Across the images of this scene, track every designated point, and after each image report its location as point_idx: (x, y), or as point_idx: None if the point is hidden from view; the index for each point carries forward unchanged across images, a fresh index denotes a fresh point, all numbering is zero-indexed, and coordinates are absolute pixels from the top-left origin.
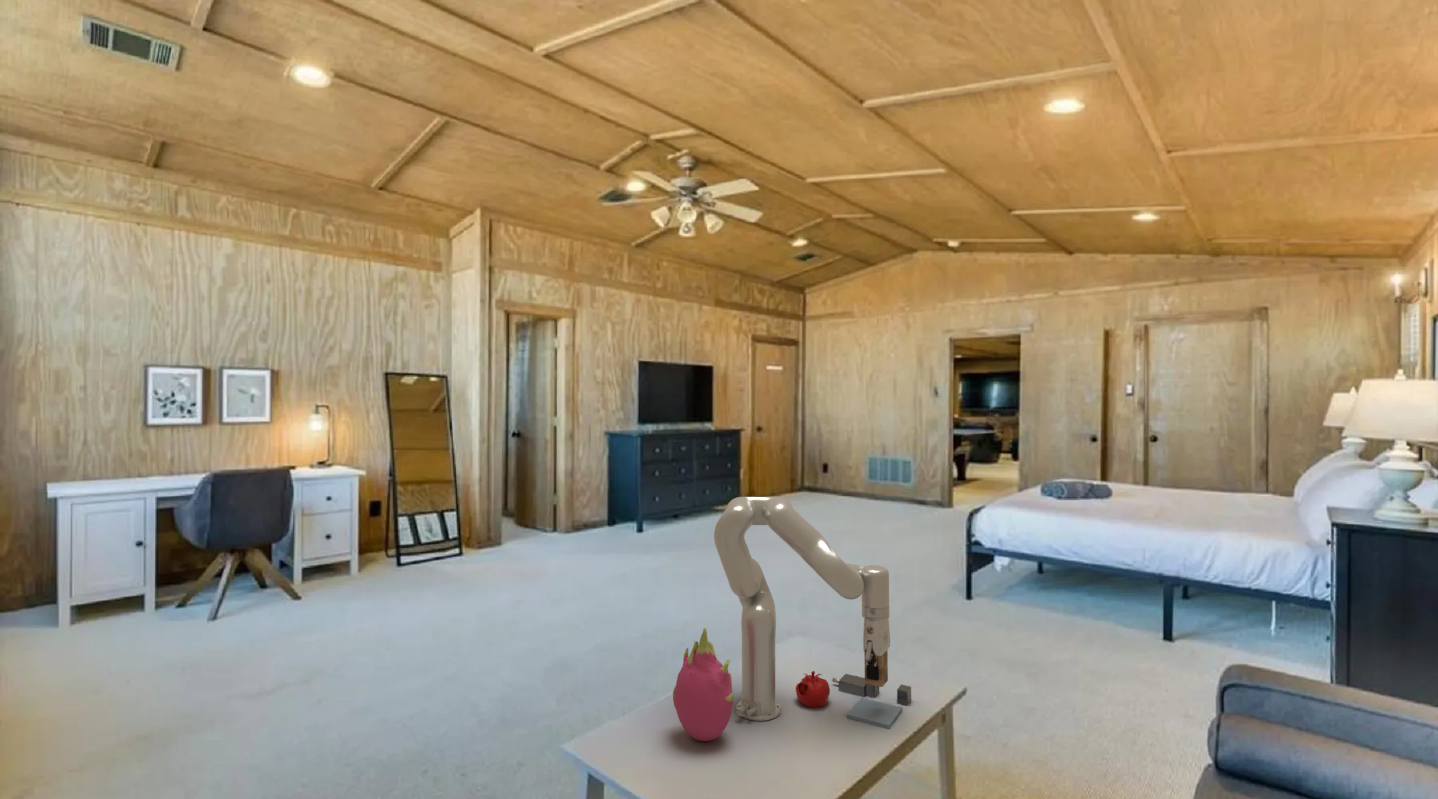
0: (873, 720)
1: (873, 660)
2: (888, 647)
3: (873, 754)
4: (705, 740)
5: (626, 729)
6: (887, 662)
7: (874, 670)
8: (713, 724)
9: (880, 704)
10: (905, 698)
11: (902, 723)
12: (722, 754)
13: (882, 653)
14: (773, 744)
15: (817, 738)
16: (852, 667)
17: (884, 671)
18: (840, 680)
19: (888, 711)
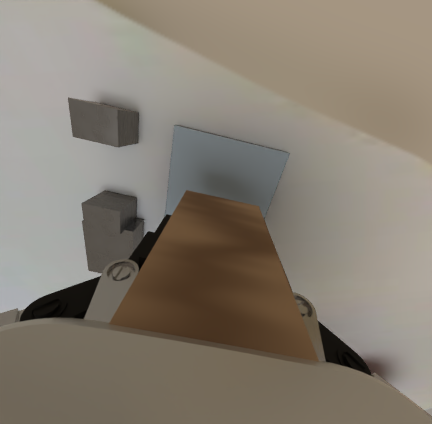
0: (270, 193)
1: (355, 366)
2: (88, 343)
3: (412, 179)
4: None
5: None
6: (165, 233)
7: (289, 284)
8: None
9: (180, 184)
10: (129, 118)
11: (248, 120)
12: (388, 359)
13: (355, 397)
14: (362, 321)
15: (341, 276)
16: (20, 250)
17: (231, 227)
18: None
19: (212, 162)
